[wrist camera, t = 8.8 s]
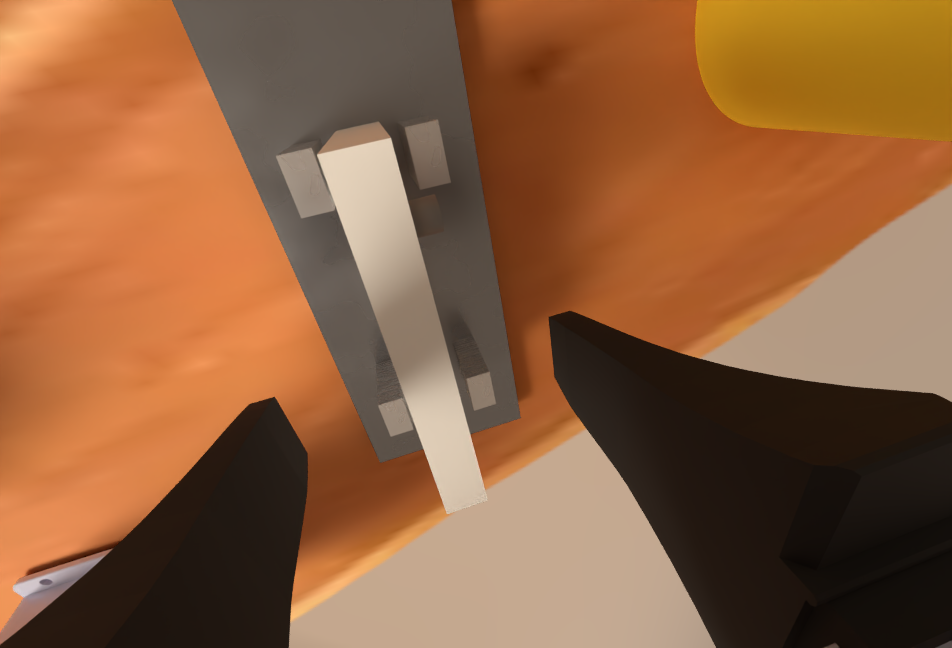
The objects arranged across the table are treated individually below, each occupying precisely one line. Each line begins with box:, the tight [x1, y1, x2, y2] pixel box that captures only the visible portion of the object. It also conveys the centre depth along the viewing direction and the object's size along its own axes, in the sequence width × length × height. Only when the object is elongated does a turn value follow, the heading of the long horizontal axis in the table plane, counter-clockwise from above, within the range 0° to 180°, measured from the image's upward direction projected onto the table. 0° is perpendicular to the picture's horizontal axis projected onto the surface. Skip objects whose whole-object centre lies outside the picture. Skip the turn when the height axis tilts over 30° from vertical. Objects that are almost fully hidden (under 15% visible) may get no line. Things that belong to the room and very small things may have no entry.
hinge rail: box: [172, 0, 521, 463], centre depth 16 cm, size 8×20×4 cm, turn 10°
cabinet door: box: [317, 121, 488, 514], centre depth 14 cm, size 2×12×7 cm, turn 10°
